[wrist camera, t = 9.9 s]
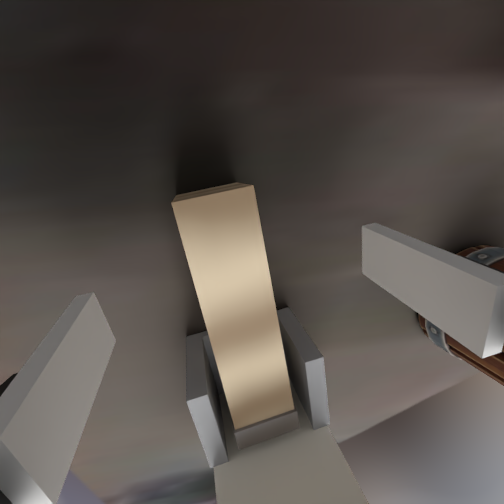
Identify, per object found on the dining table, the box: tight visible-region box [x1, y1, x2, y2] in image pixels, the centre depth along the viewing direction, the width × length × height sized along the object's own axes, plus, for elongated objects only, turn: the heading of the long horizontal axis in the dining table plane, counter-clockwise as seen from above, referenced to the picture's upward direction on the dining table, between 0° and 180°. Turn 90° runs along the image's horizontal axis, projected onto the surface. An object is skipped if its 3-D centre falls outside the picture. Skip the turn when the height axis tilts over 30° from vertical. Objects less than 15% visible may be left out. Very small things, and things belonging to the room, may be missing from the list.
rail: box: [171, 183, 300, 450], centre depth 18 cm, size 16×4×5 cm, turn 10°
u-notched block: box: [186, 307, 369, 504], centre depth 17 cm, size 11×9×15 cm
